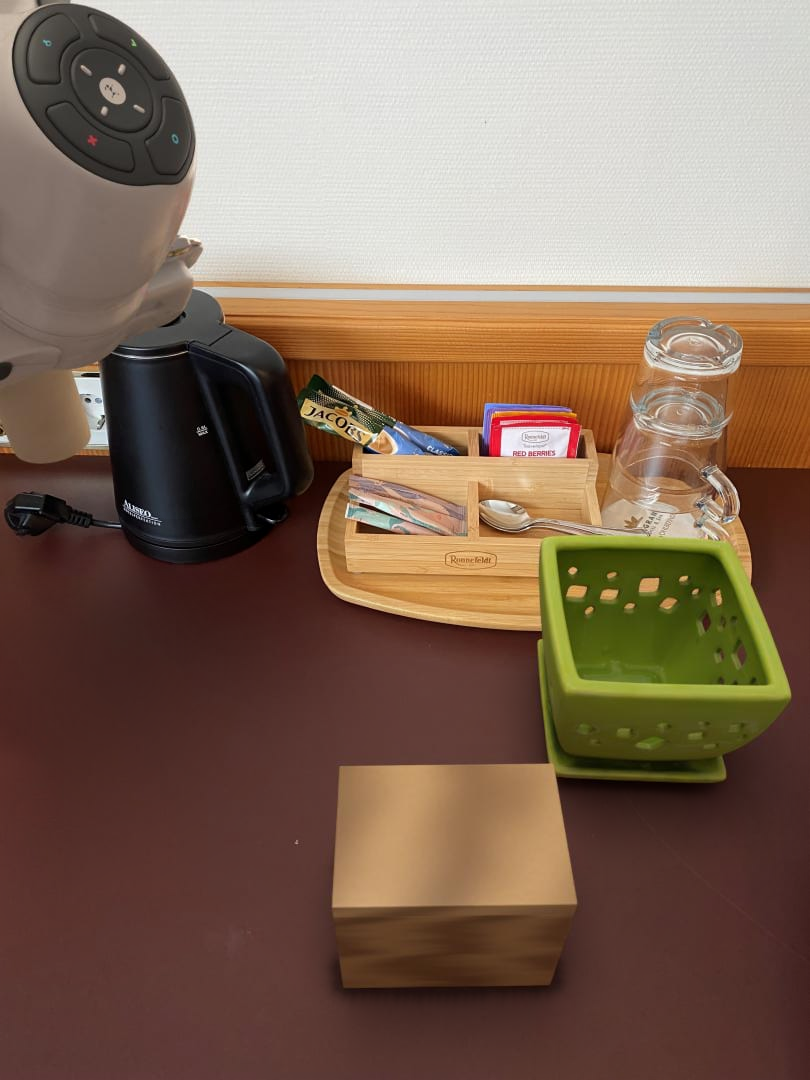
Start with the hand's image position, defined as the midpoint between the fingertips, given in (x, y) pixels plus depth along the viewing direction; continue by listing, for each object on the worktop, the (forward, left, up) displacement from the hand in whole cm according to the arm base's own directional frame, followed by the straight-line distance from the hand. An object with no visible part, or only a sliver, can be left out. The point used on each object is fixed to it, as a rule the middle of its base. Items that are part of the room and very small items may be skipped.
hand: (24, 375), depth 55 cm
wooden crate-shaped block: (+18, -36, -21) cm, 45 cm away
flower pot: (+36, -26, -22) cm, 50 cm away
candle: (0, -1, -6) cm, 6 cm away
